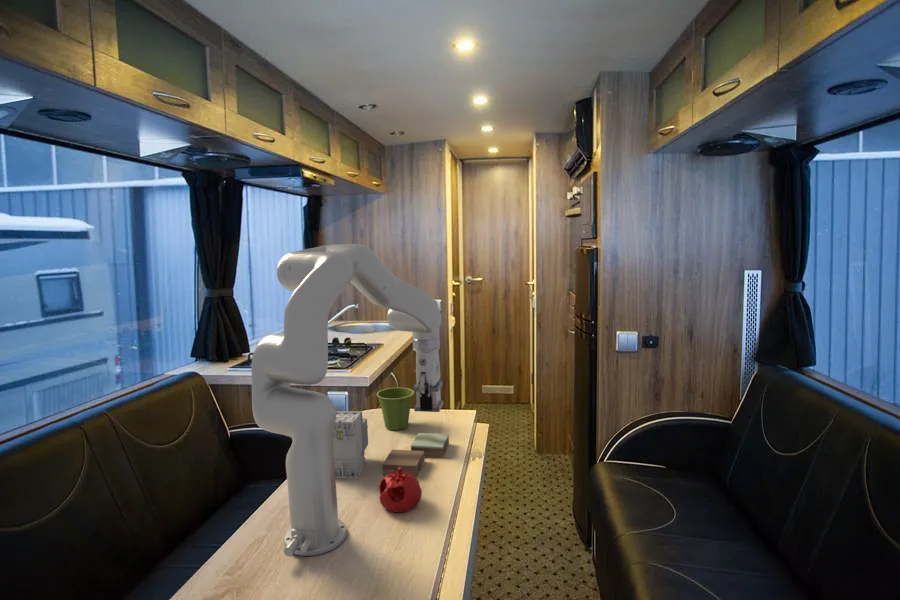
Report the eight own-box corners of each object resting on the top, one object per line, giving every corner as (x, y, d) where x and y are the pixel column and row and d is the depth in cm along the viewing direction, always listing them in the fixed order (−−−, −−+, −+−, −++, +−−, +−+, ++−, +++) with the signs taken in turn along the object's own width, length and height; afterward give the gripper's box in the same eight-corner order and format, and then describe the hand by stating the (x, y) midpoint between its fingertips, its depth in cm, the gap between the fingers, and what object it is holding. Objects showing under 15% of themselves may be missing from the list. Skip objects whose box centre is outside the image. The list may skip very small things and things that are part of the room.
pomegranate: (402, 490, 130) (401, 454, 129) (430, 504, 123) (429, 466, 122) (369, 506, 123) (368, 467, 122) (397, 521, 116) (395, 480, 115)
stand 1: (416, 477, 136) (416, 466, 136) (382, 475, 138) (382, 464, 137) (424, 461, 145) (424, 451, 144) (392, 459, 146) (392, 449, 146)
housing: (439, 412, 147) (438, 387, 146) (414, 411, 148) (413, 387, 147) (443, 404, 153) (442, 380, 152) (419, 403, 154) (418, 380, 153)
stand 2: (443, 457, 147) (442, 447, 146) (411, 455, 149) (410, 445, 148) (448, 443, 156) (448, 434, 155) (418, 442, 157) (418, 432, 157)
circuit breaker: (370, 454, 151) (367, 403, 148) (357, 478, 137) (353, 422, 134) (344, 453, 151) (341, 403, 149) (328, 477, 137) (324, 422, 135)
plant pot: (414, 433, 165) (413, 398, 163) (376, 434, 164) (374, 399, 163) (416, 419, 176) (415, 386, 175) (380, 420, 176) (378, 387, 174)
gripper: (432, 351, 138) (435, 417, 141) (445, 336, 155) (447, 396, 158) (405, 351, 140) (408, 416, 143) (420, 336, 157) (423, 395, 159)
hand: (428, 405), depth 150 cm, fingers closed on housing, 6 cm apart
